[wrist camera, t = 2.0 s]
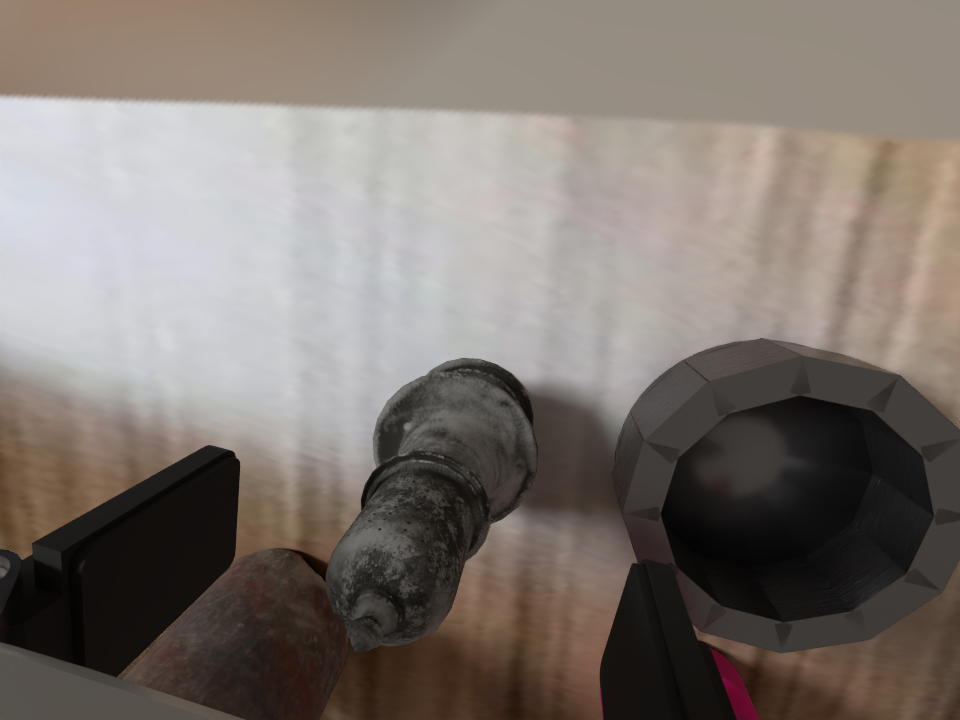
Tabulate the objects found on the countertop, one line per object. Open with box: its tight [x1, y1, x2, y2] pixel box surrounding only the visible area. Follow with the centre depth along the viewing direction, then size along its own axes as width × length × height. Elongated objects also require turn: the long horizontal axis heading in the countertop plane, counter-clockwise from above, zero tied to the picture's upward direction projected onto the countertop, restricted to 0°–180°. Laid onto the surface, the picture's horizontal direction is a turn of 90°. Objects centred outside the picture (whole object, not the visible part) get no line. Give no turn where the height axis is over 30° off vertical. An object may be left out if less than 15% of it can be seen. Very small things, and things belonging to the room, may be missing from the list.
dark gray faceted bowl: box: [612, 338, 960, 653], centre depth 17 cm, size 10×10×4 cm
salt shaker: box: [325, 358, 538, 653], centre depth 14 cm, size 6×6×12 cm
